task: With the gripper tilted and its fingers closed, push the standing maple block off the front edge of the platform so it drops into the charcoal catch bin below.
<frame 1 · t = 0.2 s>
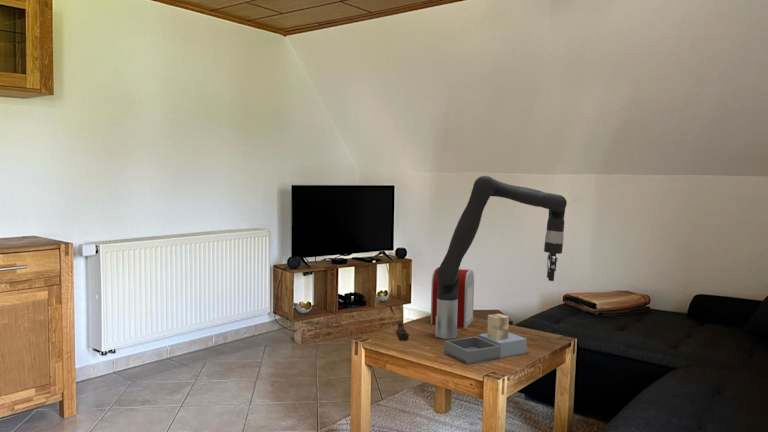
hand: (550, 279, 256), 29 cm above the table, tool pointing down, fingers open, 8 cm apart
block: (497, 337, 249), point 6 cm above the table, touching platform
catch bin: (471, 355, 243), on the table
platform: (502, 350, 250), on the table
red rounded-top case: (452, 322, 297), on the table
hand tool: (400, 336, 272), on the table
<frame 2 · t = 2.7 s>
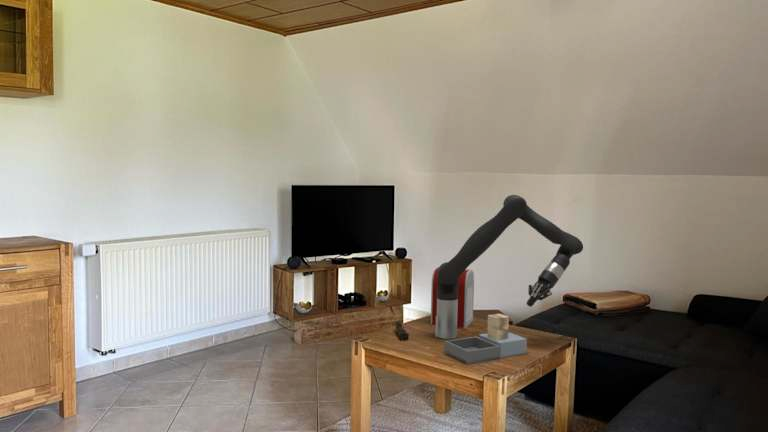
hand: (528, 305, 256), 18 cm above the table, tool tilted 45°, fingers closed
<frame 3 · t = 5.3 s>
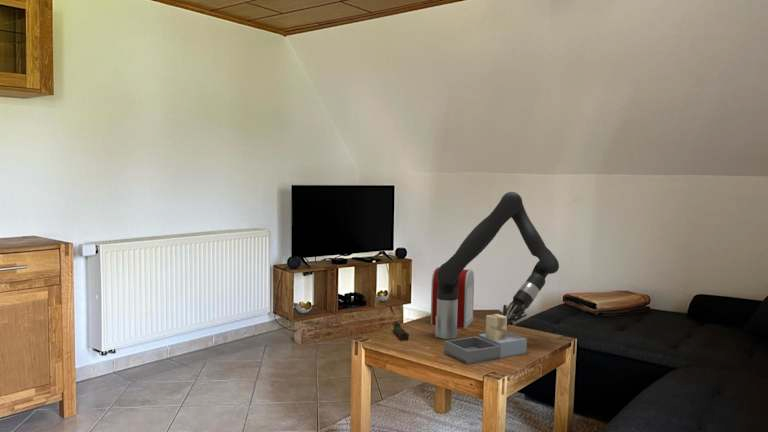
hand: (502, 326, 250), 10 cm above the table, tool tilted 45°, fingers closed
block: (496, 337, 248), point 6 cm above the table, touching gripper
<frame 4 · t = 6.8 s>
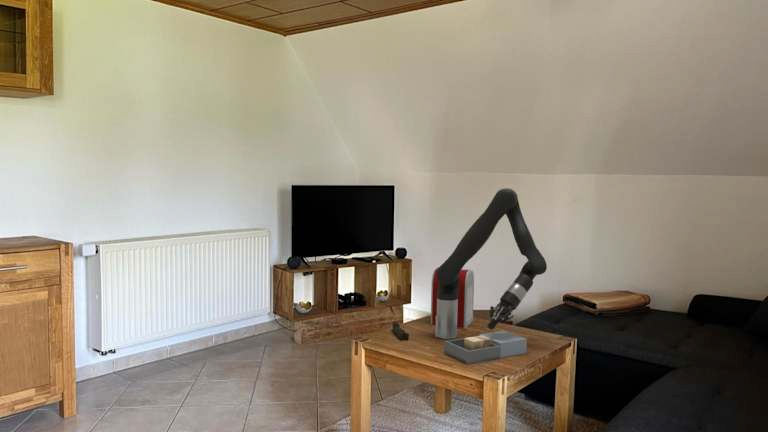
hand: (489, 328, 246), 10 cm above the table, tool tilted 45°, fingers closed
block: (486, 344, 245), point 4 cm above the table, tilted 90°, touching catch bin
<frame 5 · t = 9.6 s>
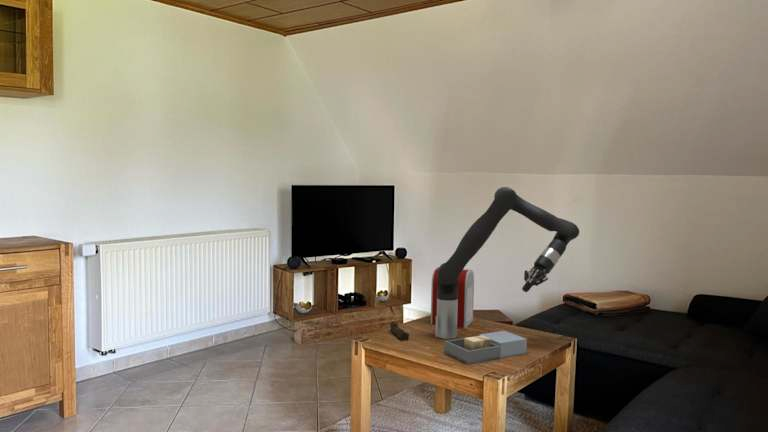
hand: (524, 290, 254), 24 cm above the table, tool tilted 45°, fingers closed
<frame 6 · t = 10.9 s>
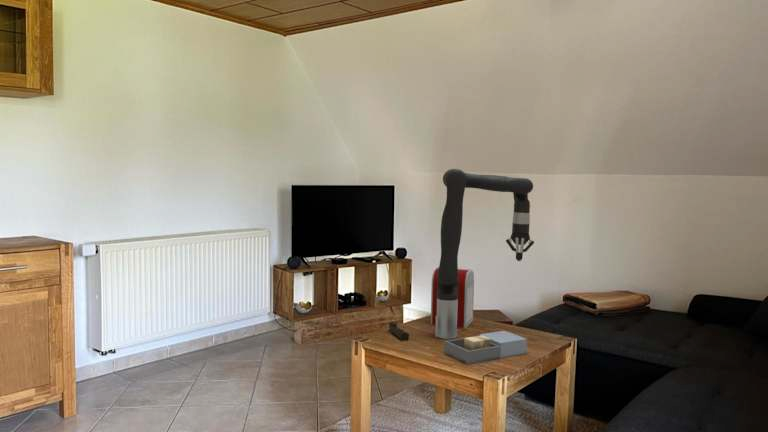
hand: (519, 260, 272), 34 cm above the table, tool pointing down, fingers closed
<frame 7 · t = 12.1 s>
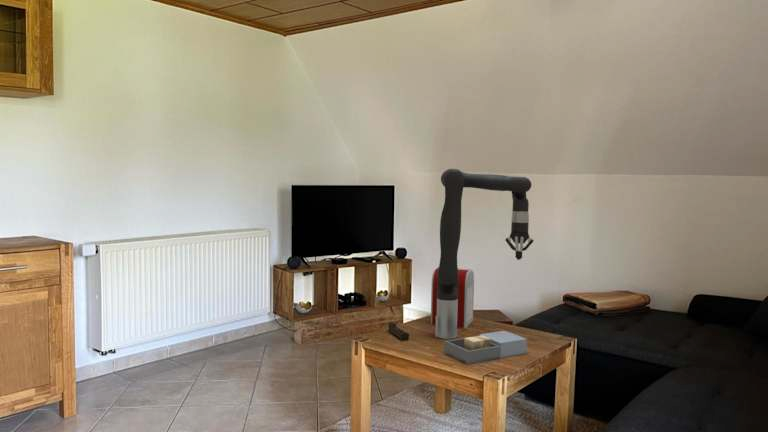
hand: (518, 259, 272), 35 cm above the table, tool pointing down, fingers closed
at the end: block 6.7 cm from the catch bin (horizontally); block point 4.0 cm above the table; block touching catch bin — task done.
